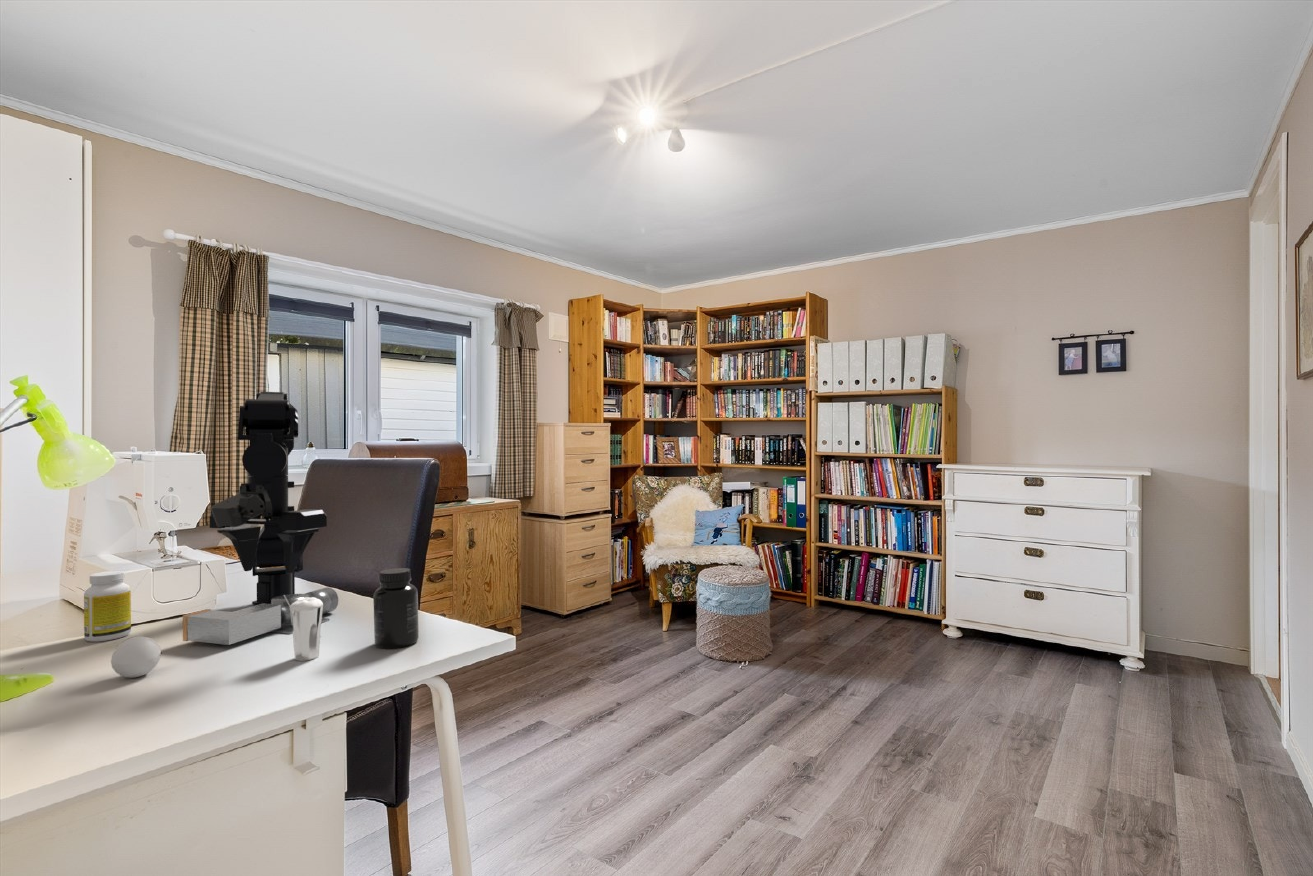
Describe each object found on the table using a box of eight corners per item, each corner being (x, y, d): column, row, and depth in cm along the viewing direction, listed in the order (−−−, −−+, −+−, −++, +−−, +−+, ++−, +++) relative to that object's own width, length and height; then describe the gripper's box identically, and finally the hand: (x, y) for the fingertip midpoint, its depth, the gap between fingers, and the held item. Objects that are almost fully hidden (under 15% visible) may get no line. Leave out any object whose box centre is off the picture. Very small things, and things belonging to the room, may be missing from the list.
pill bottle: (140, 632, 115) (140, 569, 115) (107, 643, 109) (107, 577, 109) (108, 631, 116) (108, 569, 116) (74, 642, 109) (73, 576, 109)
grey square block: (238, 624, 117) (237, 600, 117) (280, 628, 114) (280, 604, 114) (182, 641, 107) (182, 615, 107) (228, 645, 104) (228, 619, 104)
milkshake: (287, 655, 101) (286, 591, 102) (325, 651, 103) (324, 588, 103) (281, 665, 97) (280, 598, 97) (321, 660, 99) (320, 594, 99)
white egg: (162, 677, 93) (162, 637, 93) (110, 687, 89) (110, 646, 89) (160, 663, 99) (160, 626, 99) (111, 671, 95) (111, 633, 95)
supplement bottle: (408, 634, 112) (407, 564, 112) (425, 643, 107) (425, 570, 107) (367, 643, 107) (366, 570, 107) (383, 652, 102) (383, 576, 103)
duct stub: (309, 610, 128) (309, 585, 128) (347, 614, 126) (347, 588, 126) (249, 630, 115) (249, 602, 115) (290, 634, 113) (289, 605, 113)
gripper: (176, 478, 101) (176, 579, 101) (270, 479, 95) (271, 585, 95) (240, 475, 112) (241, 566, 111) (329, 475, 106) (329, 571, 106)
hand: (268, 572), depth 106 cm, fingers open, 8 cm apart
